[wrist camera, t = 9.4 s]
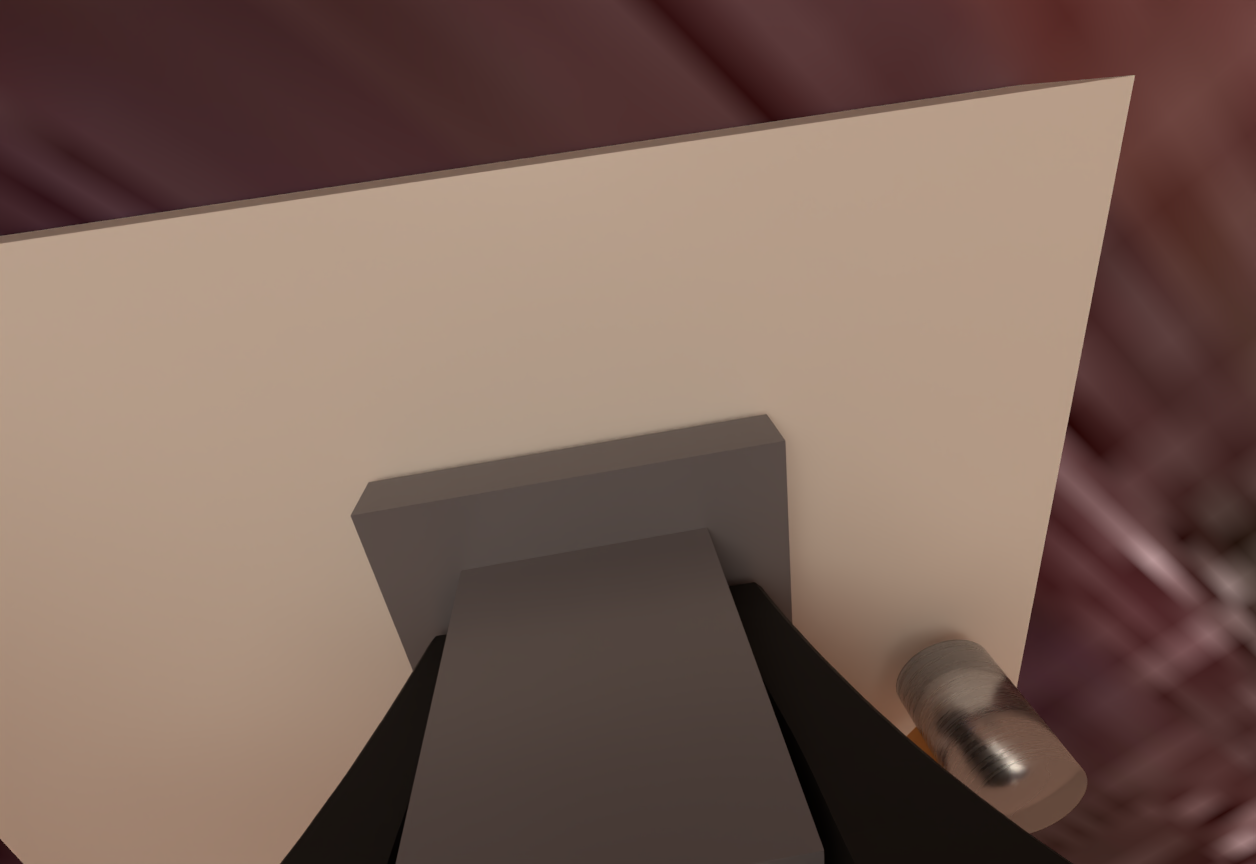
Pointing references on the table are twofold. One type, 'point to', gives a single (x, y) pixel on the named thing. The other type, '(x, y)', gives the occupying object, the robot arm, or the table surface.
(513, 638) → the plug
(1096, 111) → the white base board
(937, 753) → the orange long bar
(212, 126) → the table surface
